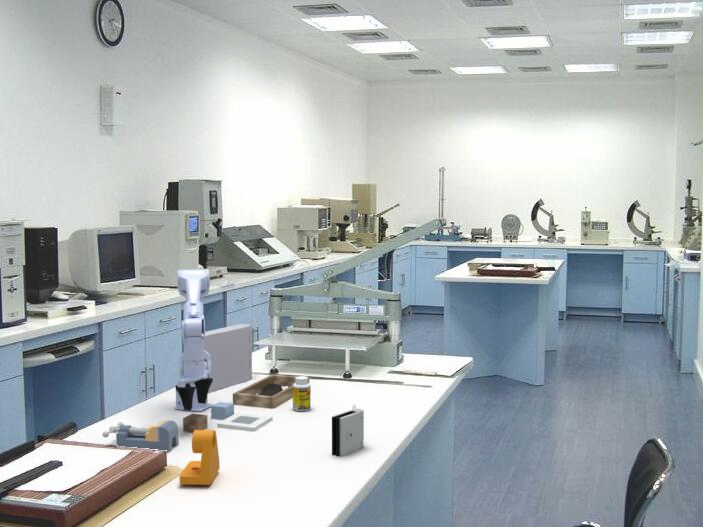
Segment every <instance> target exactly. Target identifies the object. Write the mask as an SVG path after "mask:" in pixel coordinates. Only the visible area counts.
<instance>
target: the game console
mask: <svg viewBox="0 0 703 527" xmlns="http://www.w3.org/2000/svg"><path fill="white" fill-rule="evenodd" d="M202 336H203V338H204V334H202ZM252 338H253V337H252V324H248V323H239V324H235V325H230V326H226V327H220V328H216V329H211V330H207V331H206V330H205V338H204V350H205V351H207V352H208V353H209V354H210V359H211V377H210V378H213V382H212V384H211V386H210V388H209V391H208V394H209V393H212V392H216V391H218V390H222V389H224V388H229V387H232V386H234V385H239V384H241V383H244V382H245V383H246V382H247V381H251V380H253V357H252V356H253V353H252V352H253V350H252V348H253V344H252V341H253V339H252ZM204 359H205V358H204Z"/></svg>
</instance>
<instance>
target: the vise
mask: <svg viewBox="0 0 703 527" xmlns="http://www.w3.org/2000/svg"><path fill="white" fill-rule="evenodd" d="M110 434H115V435H116V437H115V438H116V441H115V442H116V444H115V445H118V446H125V447H137V448H149V449H158V450H167V453H166V454H168V453H170V452H171V451H173V447H177V446H178V445H179V444H180V443H179V442H180V441H179V426H178V424H177V422H175V421H174V420H169V419H168V420H167V419H165V420H164V419H163V420H161V421H159V422H158V423H156V424H155V425H152V424H151V425H149V426H148V428H145V427H134V426H132V425H128V424H124V423H123V422H122V421H121V422H118V423H117V425H116V426H109V428H108V431H105V430H104V431H103V433H102V437H103V438H108V437H109V435H110Z"/></svg>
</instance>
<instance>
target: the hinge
mask: <svg viewBox="0 0 703 527" xmlns="http://www.w3.org/2000/svg"><path fill="white" fill-rule="evenodd" d="M356 407H357V405H356V404H353V405H352V408H351V409H350V410H347V411H343V412H341V413H337V414H334V415H332V416H331V455H332V456H336V457H344V456H346V455H349V454H351V453H353V452H356V451H358V450H361V449H362V448H364V443H365V442H364V438H365V436H364V435H365V433H364V432H365V431H364V425H365V420H364V419H365V418H364V416H365V415H364V411H365V410H364V409H363V408H356Z"/></svg>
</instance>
